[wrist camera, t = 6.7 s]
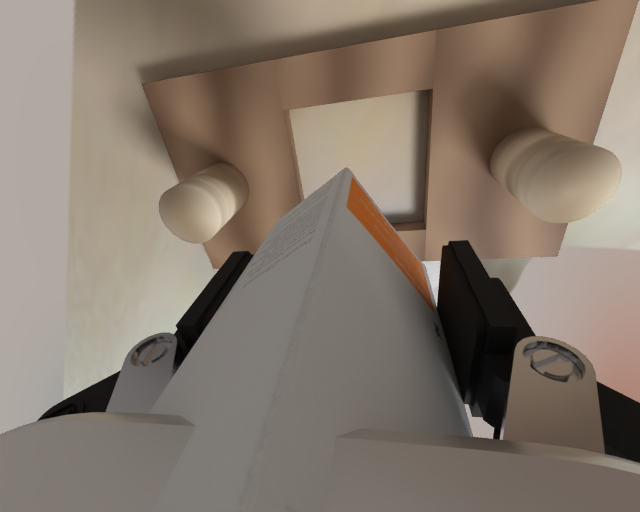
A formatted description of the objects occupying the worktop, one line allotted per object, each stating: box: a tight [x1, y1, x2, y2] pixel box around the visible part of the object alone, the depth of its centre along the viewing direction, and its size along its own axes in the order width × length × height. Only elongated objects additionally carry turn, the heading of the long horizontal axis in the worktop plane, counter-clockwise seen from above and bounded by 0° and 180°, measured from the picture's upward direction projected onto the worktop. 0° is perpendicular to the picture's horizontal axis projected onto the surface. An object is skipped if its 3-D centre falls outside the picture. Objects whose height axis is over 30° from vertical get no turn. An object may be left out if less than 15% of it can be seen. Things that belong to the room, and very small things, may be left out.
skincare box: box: [148, 168, 473, 512], centre depth 8 cm, size 6×4×12 cm
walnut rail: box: [142, 0, 639, 269], centre depth 20 cm, size 30×16×8 cm, turn 98°
